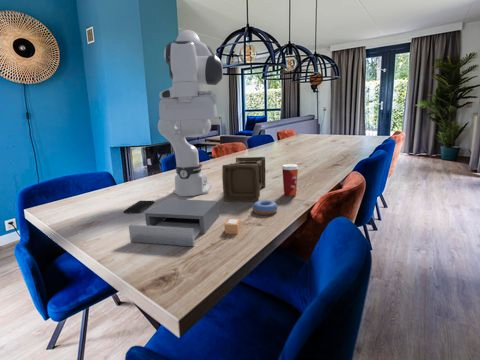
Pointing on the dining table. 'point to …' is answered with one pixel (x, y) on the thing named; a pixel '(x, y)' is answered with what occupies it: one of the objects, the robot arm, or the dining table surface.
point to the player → (185, 212)
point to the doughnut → (264, 207)
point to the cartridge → (232, 226)
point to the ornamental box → (243, 179)
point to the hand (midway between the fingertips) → (189, 133)
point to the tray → (165, 233)
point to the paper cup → (290, 179)
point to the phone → (138, 207)
